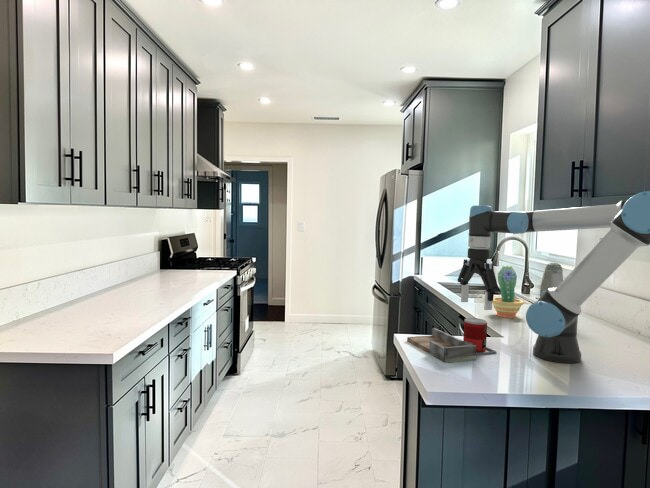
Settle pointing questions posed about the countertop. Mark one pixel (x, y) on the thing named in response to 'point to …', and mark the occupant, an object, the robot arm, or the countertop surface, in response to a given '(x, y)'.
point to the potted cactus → (507, 294)
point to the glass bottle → (551, 277)
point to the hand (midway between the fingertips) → (475, 305)
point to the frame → (487, 352)
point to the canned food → (475, 333)
